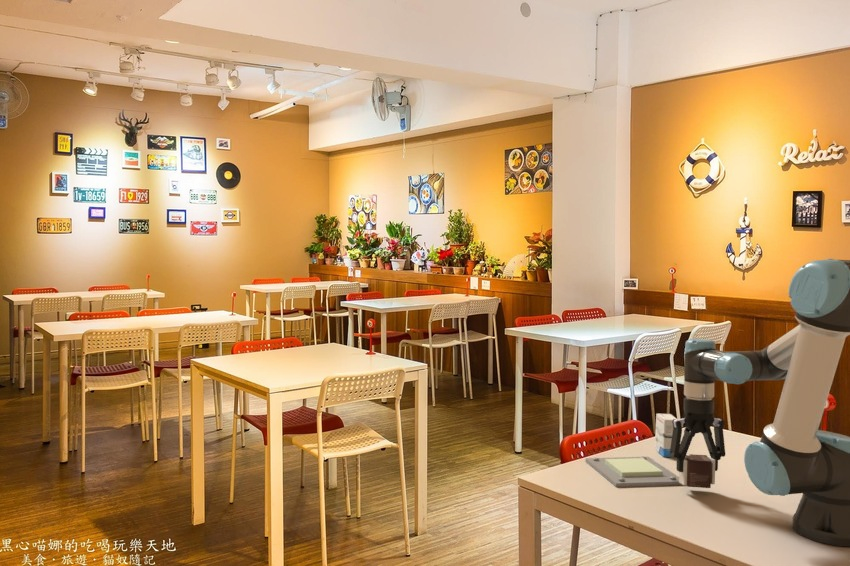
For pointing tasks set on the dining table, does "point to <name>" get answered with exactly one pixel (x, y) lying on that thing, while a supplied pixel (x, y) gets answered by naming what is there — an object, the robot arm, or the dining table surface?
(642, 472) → the board
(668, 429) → the ink box
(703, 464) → the box
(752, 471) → the robot arm
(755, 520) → the dining table surface
